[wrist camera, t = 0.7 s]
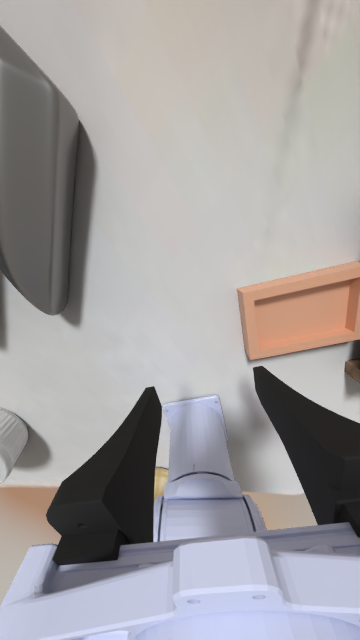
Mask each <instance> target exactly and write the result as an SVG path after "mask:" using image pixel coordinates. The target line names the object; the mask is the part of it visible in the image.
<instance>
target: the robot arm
mask: <svg viewBox="0 0 360 640" xmlns="http://www.w3.org/2000/svg"><path fill="white" fill-rule="evenodd" d="M253 371H254V380H255V389H256V392H257V395H258V397H259V399H260V402H261V404H262V406H263V408H264V409H265V411H266V413H267V415H268V417H269V418H270V420H271V422H272V424H273V426H274V427H275V429H276V431H277V433H278V434H279V436H280V438H281V440H282V442H283V444H284V446H285V449H286V451H287V453H288V455H289V458H290V460H291V462H292V464H293V467H294V469H295V471H296V473H297V476H298V478H299V480H300V483H301V485H302V487H303V490H304V492H305V494H306V497H307V499H308V502H309V504H310V506H311V509H312V512H313V514H314V516H315V519H316V521H317V524H318V525H316V526H306V527H297V528H287V529H277V530H267V529H266V526H265V523H264V520H263V517H262V515H261V512H260V510H259V508H258V507H257V505H256V504H255V503H254V502H253V500H252V499H251V497H250V496H248V495H242V491H241V487H240V483H239V482H235V481H234V476H233V472H232V467H231V462H230V458H229V453H228V449H227V444H226V442H227V441H228V437H227V432H226V428H225V423H224V418H223V413H222V409H221V404H220V399H219V396H217V395H213V396H207V397H202V398H196V399H190V400H185V401H179V402H173V403H168V404H164V405H163V410H164V413H165V415H166V418H167V421H168V423H169V426H170V429H171V434H170V451H169V468H168V482H166V483H165V490H164V496H163V495H159V496H157V498H156V500H155V501H154V485H155V466H156V455H157V448H158V441H159V434H160V427H161V418H162V406H161V403H160V401H159V398H158V395H157V393H156V390H155V387H154V386H153V387H148V388H146V389H145V390H144V392H143V394H142V395H141V397H140V398H139V400H138V401H137V403H136V405H135V406H134V408H133V409H132V411H131V412H130V413H129V415H128V416H127V418H126V419H125V420H124V422H123V423H122V424H121V426H120V427H119V428H118V430H117V431H116V432H115V433H114V434H113V435H112V437H111V438H110V439H109V440H108V441H107V442H106V443H105V444H104V445H103V446H102V447H101V448H100V449H99V450H98V451H97V452H96V453H95V454H94V455H93V456H92V457H91V458H90V459H89V460H88V461H87V462H86V463H84V464H83V465H82V466H81V467H80V468H79V469H77V470H76V471H75V472H74V473H73V474H71V475H70V476H69V477H68V478H66V479H65V480H64V481H63V482H62V483H61V485H60V487H59V489H58V491H57V493H56V495H55V497H54V499H53V501H52V503H51V505H50V507H49V509H48V511H47V514H46V517H47V520H48V522H49V524H50V525H51V526H52V527H53V528H54V529H55V530H56V531H57V532H58V533H59V534H60V535H61V536H62V537H61V540H60V542H59V544H58V545H56V544H42V545H34V546H31V547H30V548H29V550H28V552H27V554H26V556H25V558H24V560H23V562H22V564H21V566H20V568H19V570H18V572H17V574H16V576H15V578H14V580H13V582H12V584H11V586H10V588H9V590H8V592H7V594H6V596H5V598H4V600H3V602H2V604H1V606H0V640H360V423H357V422H355V421H352V420H350V419H348V418H345V417H343V416H341V415H338V414H336V413H334V412H332V411H330V410H328V409H326V408H324V407H322V406H320V405H318V404H316V403H315V402H313V401H311V400H309V399H308V398H306V397H304V396H303V395H301V394H299V393H298V392H296V391H295V390H293V389H292V388H290V387H289V386H288V385H286V384H285V383H283V382H282V381H281V380H279V379H278V378H277V377H275V376H274V375H273V374H272V373H270V372H269V371H268V370H267V369H265V368H264V367H263V366H259V367H254V368H253ZM215 401H217V402H215Z"/></svg>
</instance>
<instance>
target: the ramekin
mask: <svg viewBox="0 0 360 640" xmlns="http://www.w3.org/2000/svg"><path fill="white" fill-rule="evenodd" d="M27 441H28V429H27V426H26V425H25V423H24V422H23V421H22V420H21V419H20V418H19V417H18V416H17V415H15V414H14V413H12V412H10V411H8V410H6V409H3V408H0V483H2V482H3V481H4V480H5V479H6V478H7V477H8V476H9V474H10V473H11V471H12V469H13V465H14V464H15V462H16V461H17V459H18V457H19V455H20V454H21V452H22V450H23V449H24V447H25V445H26V443H27Z"/></svg>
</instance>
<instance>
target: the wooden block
mask: <svg viewBox="0 0 360 640" xmlns="http://www.w3.org/2000/svg"><path fill="white" fill-rule="evenodd" d="M345 372H347V373H348V374H349V375H351V376H352V377H353V378H354V379H356V380H357V381H358V382H359V383H360V359H357V360H351V361H346V364H345Z"/></svg>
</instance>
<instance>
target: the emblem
mask: <svg viewBox="0 0 360 640" xmlns="http://www.w3.org/2000/svg"><path fill="white" fill-rule="evenodd" d="M78 130H79V119H78V115H77V113H76V111H75V109H74V108H73V106H72V105H71V104H70V102H69V101H68V100H67V98H66V97H65V96H64V95H63V94H62V92H61V91H60V90H59V89H58V88H57V87H56V85H55V84H54V83H53V82H52V81H51V80H50V79H49V78H48V76H47V75H46V74H45V73H44V72H43V71H42V70H41V69H40V68H39V67H38V66H37V65H36V63H35V62H34V61H33V60H32V59H31V58H30V57H29V56H28V55H27V54H26V53H25V52H24V51H23V49H22V48H21V47H20V46H19V45H18V44H17V43H16V42H15V41H14V40H13V39H12V38H11V37H10V35H9V34H8V33H7V32H6V31H5V30H4V29H3V28H2V27H1V26H0V270H1V271H2V272H3V274H4V275H5V276H6V277H7V279H8V280H9V281H10V282H11V283H12V285H13V286H14V287H15V288H16V289H17V290H18V291H19V292H20V293H21V294H22V295H23V296H24V297H25V298H26V299H27V300H28V301H29V302H30V303H31V304H32V305H34V306H35V307H36V308H37V309H39V310H40V311H42V312H44V313H46V314H48V315H56V314H59V313H60V312H62V311H63V309H64V308H65V306H66V302H67V294H68V274H69V254H70V237H71V222H72V208H73V195H74V182H75V169H76V156H77V144H78Z"/></svg>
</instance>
